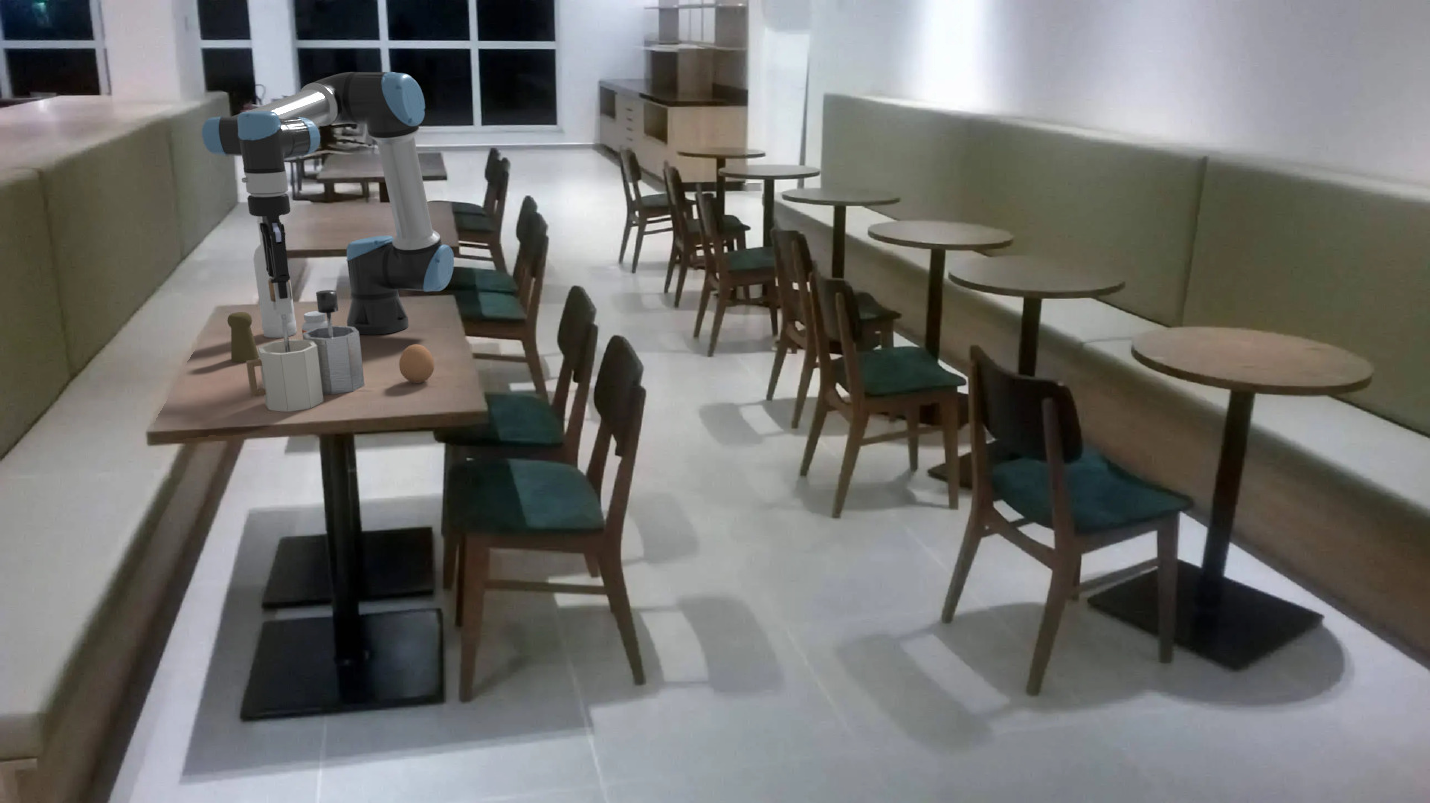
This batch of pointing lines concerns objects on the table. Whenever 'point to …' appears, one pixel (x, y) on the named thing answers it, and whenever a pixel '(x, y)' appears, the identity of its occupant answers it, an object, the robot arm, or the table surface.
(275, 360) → the white faceted mug
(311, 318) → the pill bottle
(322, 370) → the grey octagonal container
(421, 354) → the egg
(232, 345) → the cork
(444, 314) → the table surface
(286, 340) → the plunger
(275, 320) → the bottle
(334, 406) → the table surface
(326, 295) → the plunger
